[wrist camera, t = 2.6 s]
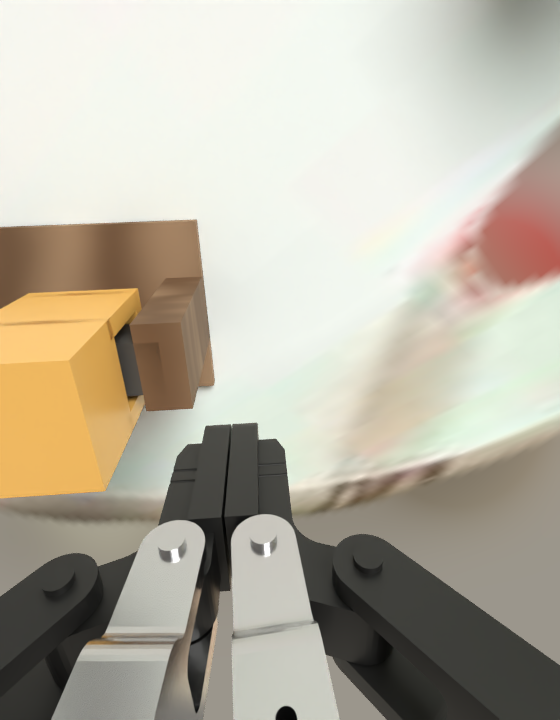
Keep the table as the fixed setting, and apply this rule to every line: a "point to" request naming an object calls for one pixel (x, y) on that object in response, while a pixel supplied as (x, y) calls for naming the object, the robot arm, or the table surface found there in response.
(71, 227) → the wooden slider rail stand
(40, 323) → the yellow slider block
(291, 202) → the table surface
